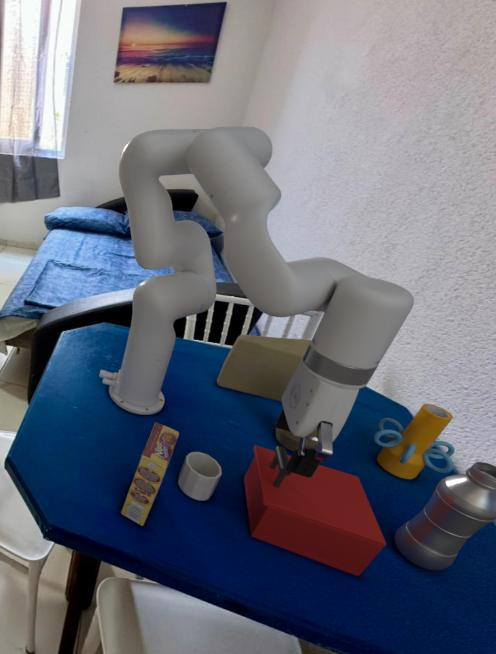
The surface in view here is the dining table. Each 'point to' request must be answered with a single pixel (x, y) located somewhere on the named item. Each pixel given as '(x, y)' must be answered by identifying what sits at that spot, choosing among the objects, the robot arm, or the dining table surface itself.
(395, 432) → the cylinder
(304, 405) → the robot arm
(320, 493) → the red box lid
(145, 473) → the candy box
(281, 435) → the squeeze bottle
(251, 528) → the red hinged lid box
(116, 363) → the dining table surface
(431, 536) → the silver metal bottle
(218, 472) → the container
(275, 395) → the cheese
